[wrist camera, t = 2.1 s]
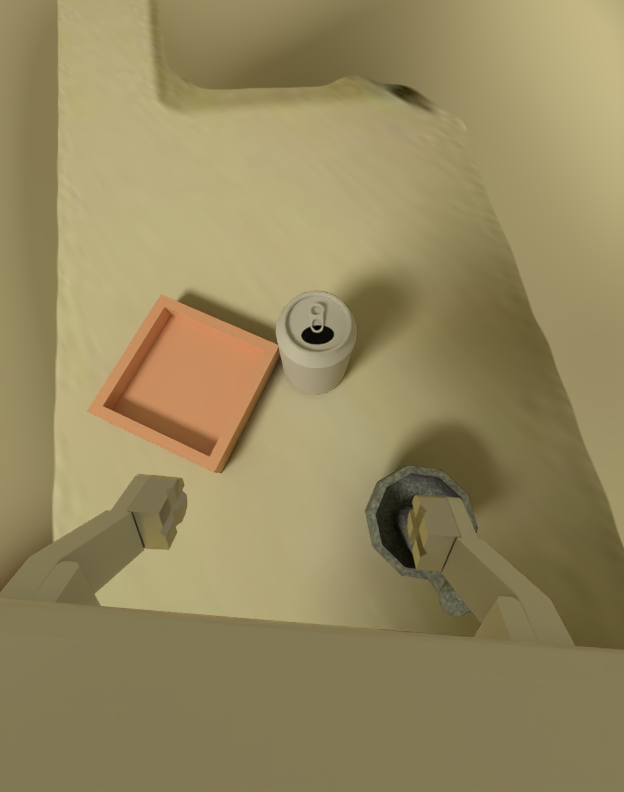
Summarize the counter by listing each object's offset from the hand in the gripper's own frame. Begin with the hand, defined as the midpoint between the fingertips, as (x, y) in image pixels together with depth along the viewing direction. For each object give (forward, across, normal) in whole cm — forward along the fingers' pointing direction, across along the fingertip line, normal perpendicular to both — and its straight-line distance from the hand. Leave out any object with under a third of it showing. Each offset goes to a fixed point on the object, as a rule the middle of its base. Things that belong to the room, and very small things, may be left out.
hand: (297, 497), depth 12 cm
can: (+28, 0, +9) cm, 30 cm away
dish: (+26, +14, +11) cm, 31 cm away
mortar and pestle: (+17, -10, +21) cm, 29 cm away
